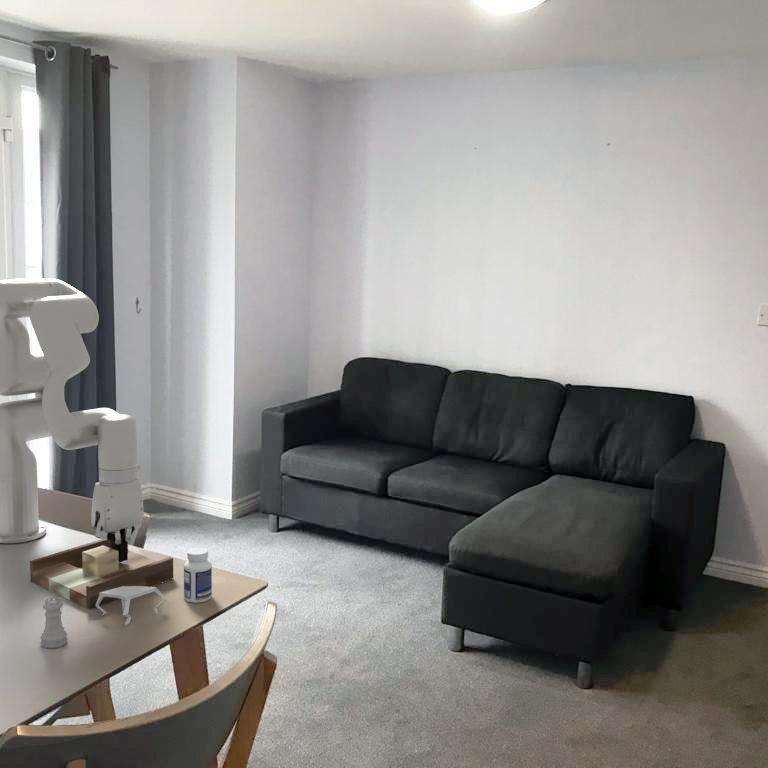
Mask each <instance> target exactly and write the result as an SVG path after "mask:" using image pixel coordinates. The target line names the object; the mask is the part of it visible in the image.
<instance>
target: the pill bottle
mask: <svg viewBox="0 0 768 768" xmlns="http://www.w3.org/2000/svg"><path fill="white" fill-rule="evenodd" d="M212 568H213V567H212V562H211V560H210V559H209V550H208V549H207V548H205V547H194V548H190V549H188V550H187V560H186V561H185V562H184V564H183V597H184V600H185V601H186V602H189V603H193V604H194V603H195V604H196V603H197V604H198V603H205V602H208V601H209V600H210V599H211V598H212V595H213V593H212V591H213V590H212V589H213V588H212V587H213V585H212V582H213V581H212V578H213V575H212V572H213V571H212V570H213V569H212Z"/></svg>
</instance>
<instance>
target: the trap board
mask: <svg viewBox="0 0 768 768" xmlns="http://www.w3.org/2000/svg"><path fill="white" fill-rule="evenodd" d="M100 546H106V547H109V548H111V542H109V541H108V539H98V540H95V541H92V542H89V543H85V544H81V545H78V546H75V547H71V548H69V549H65V550H62V551H58V552H55V553H51V554H48V555H45V556H42V557H38V558H35V559H32V560H30V561H29V568H30V582H31V583H32V584H34V585H36V586H39V587H41V588H43V589H45V590H48V591H50V592H51V593H53V594H55V595H57V596H60V597H62V598H64V599H67V600H69V601H70V602H73V603H74V604H77V605H78V606H81V607H83V608H85V609H88V610H94V609H95V608H97V607H96V603H97V600H98V598H99V592H104V591H108V590H111V589H115V588H118V587H122V586H145V587H151V586H152V587H155V586H158V585H160V584H163V583H165V581H166V582H168V580H169V581H170V579H171V580H173V579H174V558H173V557H171V556H170V557H166V558H164V559H163V558H162V559H161V560H155V559H153V558H150V557H148V556H146V555H142V554H139V553H138V552H134V551H132V550H130V549H128V560H126V561H123V562H119V570H117V571H114V572H111V573H108V574H105V575H102V576H99V577H97V576H95V575H92V574H90V573H87V572H85V571H83V562H82V552H83V551H87V550H90V549H93V548H96V547H100ZM172 578H173V579H172ZM162 582H163V583H162ZM157 584H158V585H157ZM154 585H155V586H154ZM117 600H121V599H120V598H114V597H106V596H105V597H104V598H103V599H102V600H101V602H100V604H99V605H98V606H100V607H101V606H103V605H106V604H109V603H112V602H115V601H117Z"/></svg>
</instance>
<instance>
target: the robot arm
mask: <svg viewBox="0 0 768 768" xmlns="http://www.w3.org/2000/svg"><path fill="white" fill-rule="evenodd" d="M99 317H100V315H99V312H98V308H97V306H96V304H95V302H94V301H93V300H92V299H91V298H90V296H88V295H87V294H85V293H83V292H82V291H80V290H78V289H77V288H75V287H74V286H71V284H68V283H66V282H65V281H63V280H61V279H56V278H12V279H11V278H10V279H1V280H0V396H3V397H14V396H22V395H30V394H34V396H35V397H34V398H33V397H32V398H28V399H27V398H26V399H18V400H13V401H6V402H2V403H0V544H20V543H27V542H30V541H34V540H37V539H39V538H41V537H43V536H44V535H45V534H46V532H47V527H46V525H45V524H43V523H41V522H40V520H39V519H40V518H39V493H38V492H39V490H38V486H39V483H38V465H37V464H38V463H37V457H36V456H35V454H34V452H33V451H32V450H31V449H30V448H29V447H28V445H27V442H29V441H35V440H38V439H44V438H48V437H49V438H50V437H52V439H53V441H54V442H55V443H56V445H57V446H58V447H60V448H61V449H63V450H69V451H72V450H77V449H82V448H88V447H93V446H97V455H98V456H97V457H98V459H97V461H98V462H97V463H98V482H95V484H94V488H93V492H92V502H91V515H90V516H91V517H90V518H91V523H90V524H91V527H92V529H95V535H94V536H95V538H97V539H98V540H101V539H108V541H109V542H111V549H114V550H117V551H118V557H119V562H123V561H126V560H128V550H129V542H130V541H131V536H132V535H133V533H134V532H135V531H136V530H138V529H139V528H141V527H142V525H143V523H142V522H143V520H144V496H143V490H142V485H141V480H140V478H139V477H138V472H139V471H141V465H140V464H139V463H138V457H137V456H138V455H137V454H138V453H137V452H138V450H137V449H138V448H137V447H138V445H137V442H138V441H137V422H136V419H135V417H134V416H133V415H130V414H126V413H119V412H118V411H116V410H114V409H112V408H110V407H98V408H93V409H92V408H91V409H84V410H79V411H71V412H70V410H69V408H68V406H67V403H66V401H65V385H66V384H67V381H68V380H69V379H71V378H73V377H74V376H76V375H78V374H80V373H81V372H82V371H84V370H85V369H86V368H87V367H88V366H89V364H90V362H91V357H90V354H89V352H88V350H87V347H86V345H85V342H84V339H83V337H82V334H89V333H92V332H93V331H95V330H96V329H97V328H98V325H99V321H100V318H99ZM20 318H29V319H30V323H31V325H32V328H33V331H34V333H35V336H36V339H37V342H38V344H39V346H40V349H41V351H40V350H39V351H31V349H30V347H31V346H30V342H31V340H30V334H29V332H28V329H27V327H26V325H24V323H23V322H22V321H21V320H20Z"/></svg>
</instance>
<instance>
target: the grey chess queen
mask: <svg viewBox="0 0 768 768" xmlns="http://www.w3.org/2000/svg"><path fill="white" fill-rule="evenodd" d="M61 600H62V599H61V598H59V597H57V596H55V597H54V599H53V597H49V599H48V598H46V599H45V601H44V604H43V605H42V608H43V609H44V610H45V613H44V616H45V624H44V625H45V626H44V629H43V631H42V633H41V635H40V645H41V647H43V648H45V649H48V648H54V649H58V648H57V647H59V648H61V647H63V646H65V644H66V643H67V642H68V640H69V639H68V637H67V636H68V633H67V631H66V630H65V628H64V626H63V621H62V616H61V615H62V614H63V612H62V610H61V609H62V608H63V606H64V603H63V602H62V601H61Z"/></svg>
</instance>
